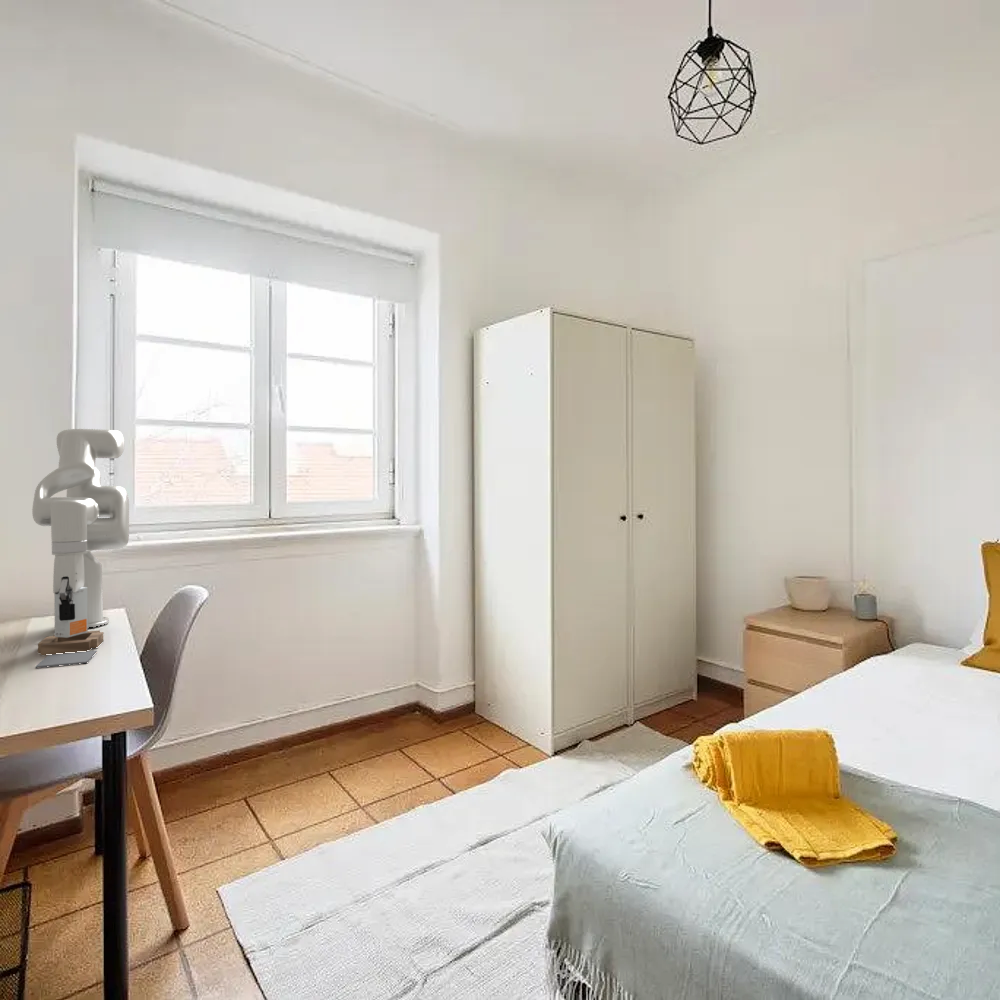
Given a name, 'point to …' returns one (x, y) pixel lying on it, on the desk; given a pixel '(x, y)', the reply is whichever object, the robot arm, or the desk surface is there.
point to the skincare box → (80, 621)
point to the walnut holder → (70, 643)
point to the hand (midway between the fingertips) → (71, 615)
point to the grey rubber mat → (66, 659)
